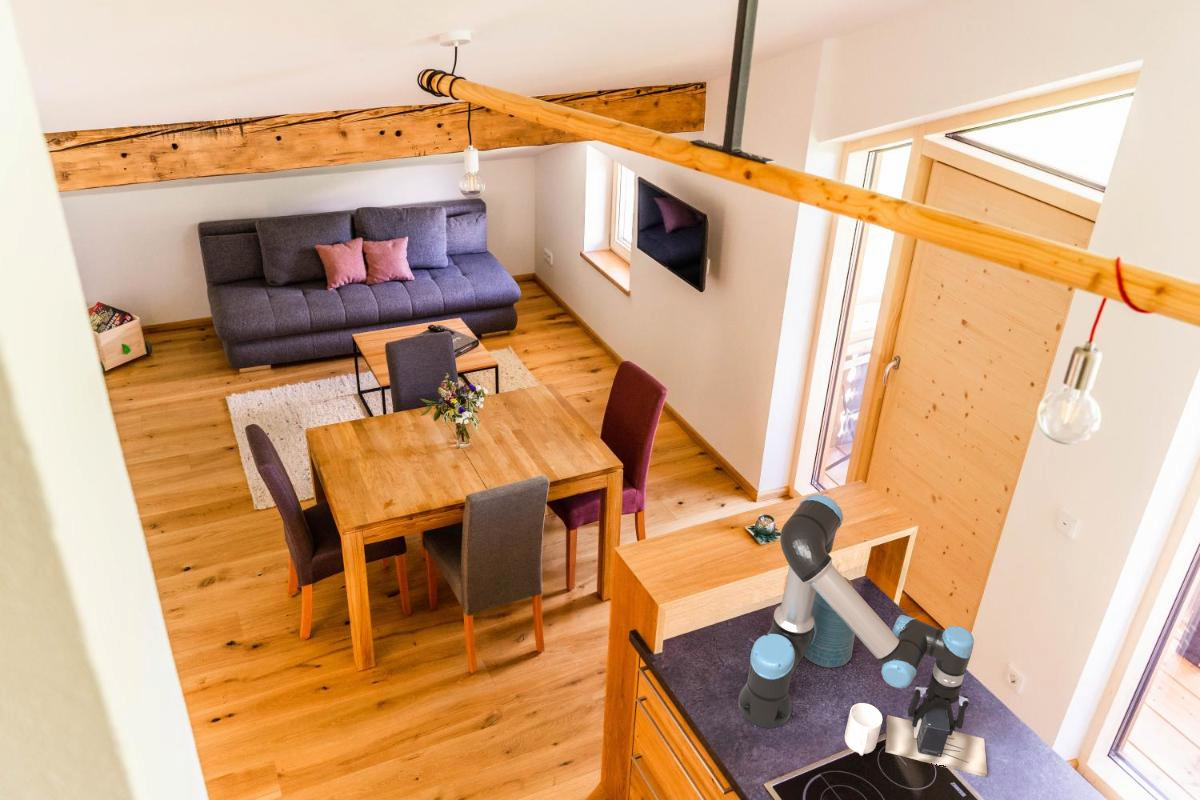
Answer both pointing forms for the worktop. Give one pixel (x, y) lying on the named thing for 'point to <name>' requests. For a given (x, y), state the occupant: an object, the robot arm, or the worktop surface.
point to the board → (956, 753)
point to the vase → (829, 636)
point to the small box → (933, 730)
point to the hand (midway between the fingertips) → (928, 737)
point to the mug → (863, 728)
